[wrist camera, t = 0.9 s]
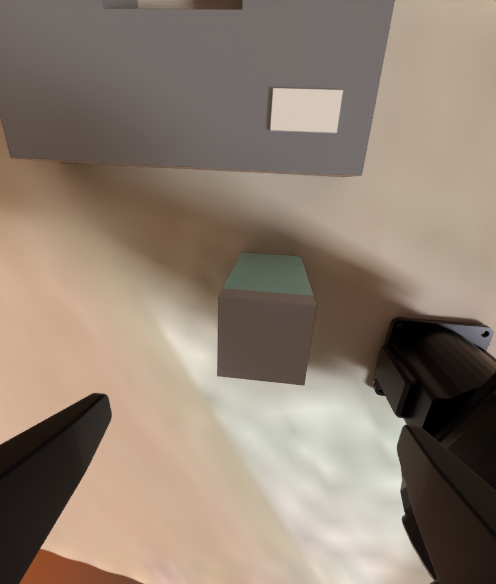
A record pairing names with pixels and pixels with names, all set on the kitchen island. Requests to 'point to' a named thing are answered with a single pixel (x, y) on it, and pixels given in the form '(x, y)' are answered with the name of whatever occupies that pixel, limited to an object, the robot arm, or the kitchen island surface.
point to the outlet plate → (193, 84)
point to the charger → (266, 319)
